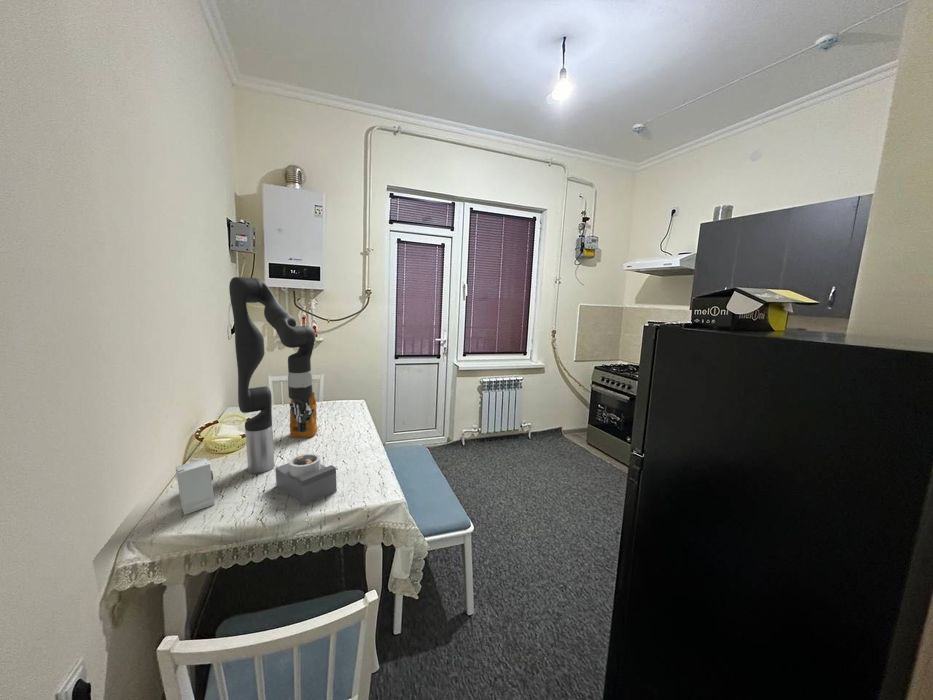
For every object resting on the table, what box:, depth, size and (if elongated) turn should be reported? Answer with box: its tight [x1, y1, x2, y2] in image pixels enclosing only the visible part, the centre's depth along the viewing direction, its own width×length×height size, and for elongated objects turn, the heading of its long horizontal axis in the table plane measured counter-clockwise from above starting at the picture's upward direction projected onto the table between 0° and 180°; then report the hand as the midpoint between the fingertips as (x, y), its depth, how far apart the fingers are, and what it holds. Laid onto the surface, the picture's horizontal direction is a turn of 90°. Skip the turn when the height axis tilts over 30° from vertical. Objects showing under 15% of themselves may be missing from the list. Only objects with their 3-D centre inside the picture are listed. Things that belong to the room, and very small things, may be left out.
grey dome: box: [297, 456, 313, 465], centre depth 123 cm, size 6×5×4 cm
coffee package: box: [289, 391, 318, 439], centre depth 171 cm, size 10×12×22 cm
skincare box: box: [175, 457, 216, 516], centre depth 111 cm, size 8×6×15 cm
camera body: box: [275, 453, 337, 507], centre depth 123 cm, size 20×12×11 cm, turn 52°
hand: (302, 431), depth 121 cm, fingers closed
